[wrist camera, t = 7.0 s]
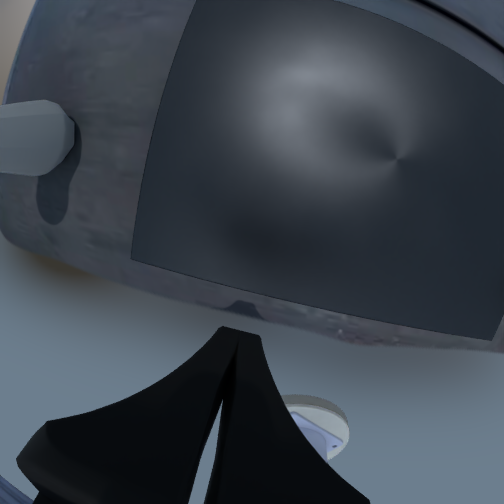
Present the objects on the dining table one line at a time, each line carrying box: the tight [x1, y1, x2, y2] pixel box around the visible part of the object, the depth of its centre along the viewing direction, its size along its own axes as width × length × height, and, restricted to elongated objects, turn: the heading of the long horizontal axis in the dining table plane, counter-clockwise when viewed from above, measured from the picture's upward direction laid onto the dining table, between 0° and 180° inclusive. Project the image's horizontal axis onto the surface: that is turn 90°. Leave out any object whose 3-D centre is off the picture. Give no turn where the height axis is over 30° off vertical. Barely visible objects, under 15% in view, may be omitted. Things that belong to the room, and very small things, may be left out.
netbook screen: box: [131, 0, 504, 341], centre depth 14 cm, size 18×26×1 cm
